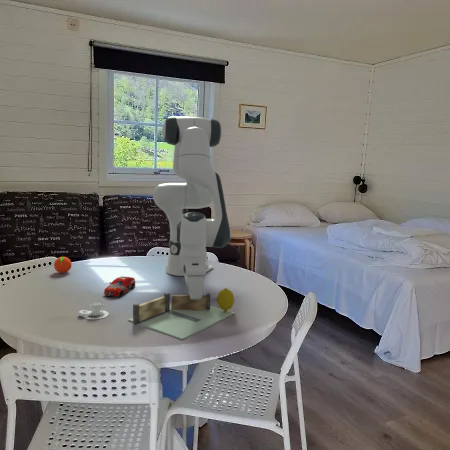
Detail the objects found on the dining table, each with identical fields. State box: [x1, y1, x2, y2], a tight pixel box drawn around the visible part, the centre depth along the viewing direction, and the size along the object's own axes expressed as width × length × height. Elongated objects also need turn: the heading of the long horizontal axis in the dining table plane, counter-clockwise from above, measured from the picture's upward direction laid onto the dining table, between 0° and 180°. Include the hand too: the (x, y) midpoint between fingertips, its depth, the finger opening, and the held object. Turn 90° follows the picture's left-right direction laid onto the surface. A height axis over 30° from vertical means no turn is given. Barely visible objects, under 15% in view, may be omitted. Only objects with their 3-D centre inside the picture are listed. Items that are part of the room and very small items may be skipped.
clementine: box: [53, 256, 73, 274], centre depth 182 cm, size 8×7×7 cm
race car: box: [104, 276, 136, 297], centre depth 162 cm, size 16×7×5 cm, turn 165°
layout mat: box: [127, 302, 235, 341], centre depth 138 cm, size 26×22×1 cm
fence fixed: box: [132, 292, 171, 325], centre depth 136 cm, size 15×2×6 cm, turn 145°
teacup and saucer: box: [78, 301, 109, 320], centre depth 138 cm, size 9×8×4 cm
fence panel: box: [171, 292, 212, 310], centre depth 143 cm, size 13×2×5 cm, turn 98°
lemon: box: [216, 287, 235, 312], centre depth 143 cm, size 6×6×8 cm
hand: (192, 302), depth 145 cm, fingers closed
